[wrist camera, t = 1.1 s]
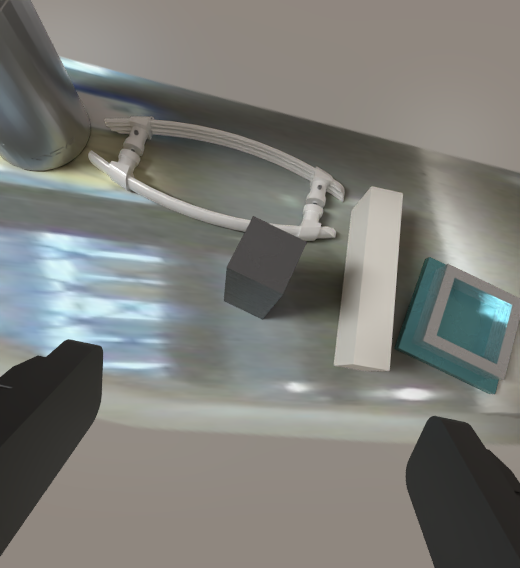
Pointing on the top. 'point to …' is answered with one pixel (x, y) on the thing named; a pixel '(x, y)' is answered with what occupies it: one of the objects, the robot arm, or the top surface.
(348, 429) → the top surface
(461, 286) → the keeper
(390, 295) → the door edge
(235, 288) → the block
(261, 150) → the door handle
